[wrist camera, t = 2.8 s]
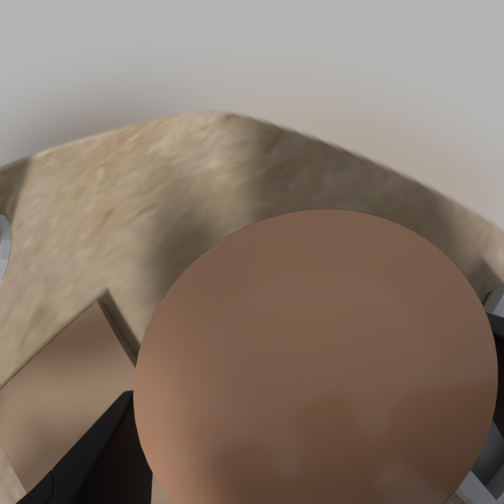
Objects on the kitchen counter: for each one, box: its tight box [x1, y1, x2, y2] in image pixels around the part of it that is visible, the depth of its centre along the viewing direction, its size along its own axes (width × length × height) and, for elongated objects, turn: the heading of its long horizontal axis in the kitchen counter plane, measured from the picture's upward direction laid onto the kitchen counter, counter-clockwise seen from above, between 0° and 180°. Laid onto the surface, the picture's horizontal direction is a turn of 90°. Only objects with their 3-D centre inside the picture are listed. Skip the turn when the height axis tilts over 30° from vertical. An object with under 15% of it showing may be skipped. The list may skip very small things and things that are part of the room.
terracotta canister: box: [133, 209, 498, 504], centre depth 9 cm, size 5×5×12 cm
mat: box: [0, 301, 174, 504], centre depth 12 cm, size 14×14×1 cm
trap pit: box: [454, 284, 504, 504], centre depth 11 cm, size 10×10×2 cm
